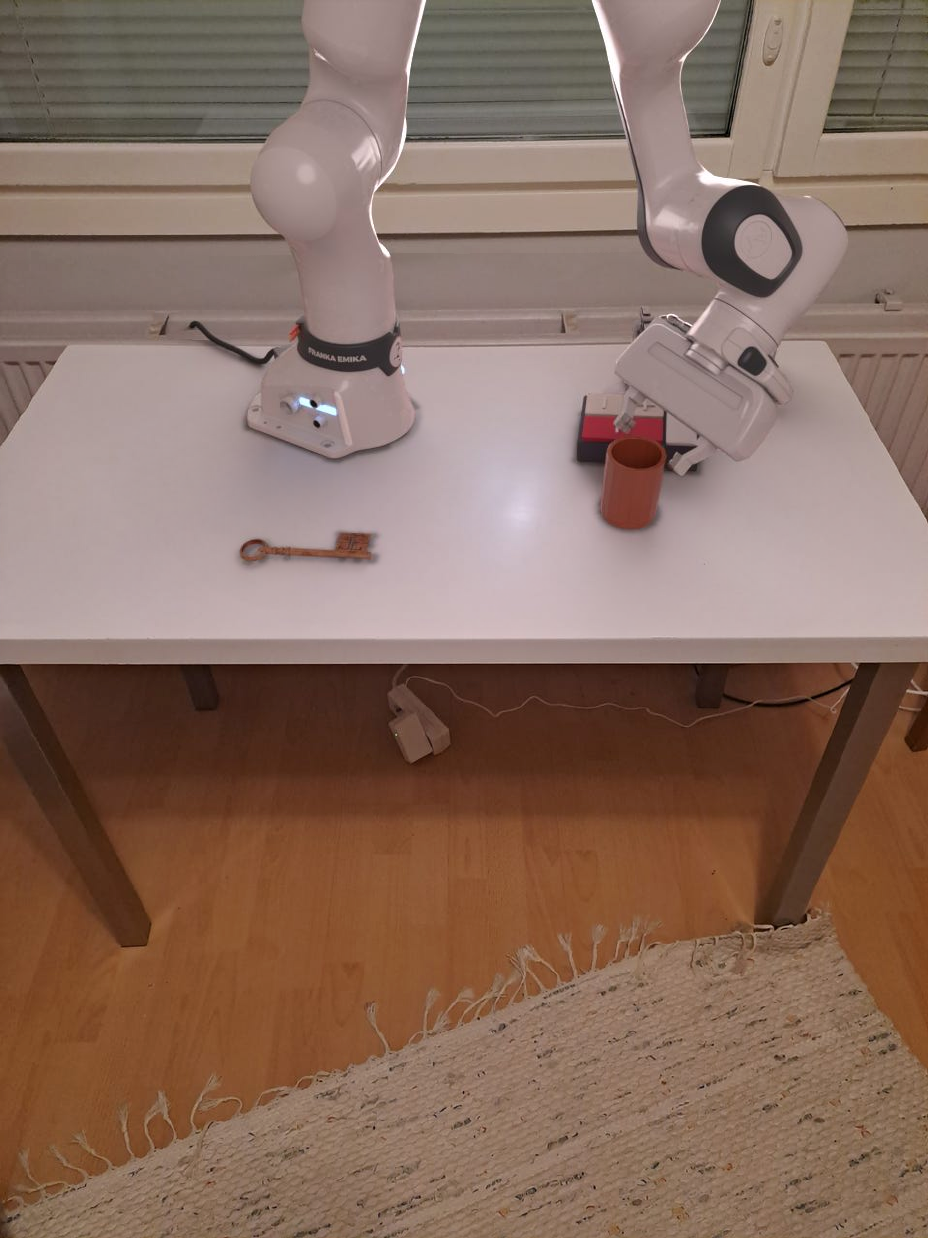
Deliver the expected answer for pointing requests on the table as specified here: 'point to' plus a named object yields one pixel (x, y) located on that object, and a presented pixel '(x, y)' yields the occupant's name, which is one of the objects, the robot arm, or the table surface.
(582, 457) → the calculator
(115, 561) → the table surface
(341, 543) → the key
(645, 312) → the lighter
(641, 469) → the cup
